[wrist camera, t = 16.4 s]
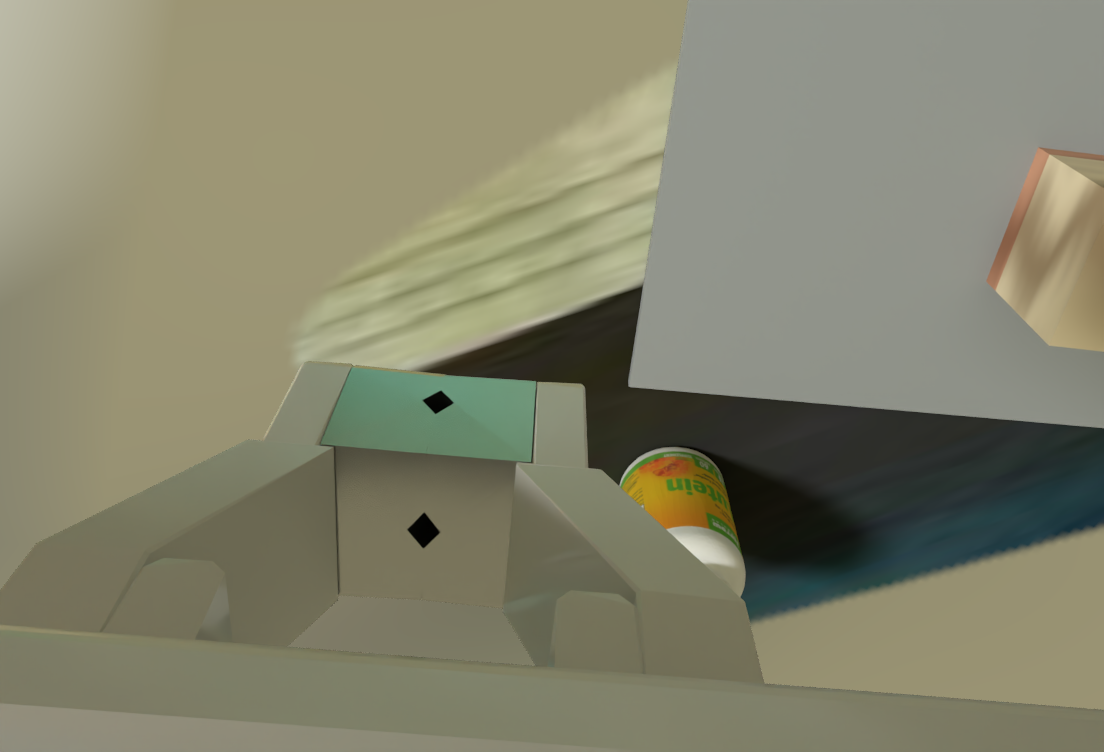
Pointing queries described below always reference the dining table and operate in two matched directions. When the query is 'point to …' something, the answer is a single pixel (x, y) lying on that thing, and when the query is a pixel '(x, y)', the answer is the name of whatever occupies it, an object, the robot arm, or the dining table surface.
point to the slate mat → (865, 204)
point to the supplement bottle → (689, 507)
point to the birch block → (1057, 250)
